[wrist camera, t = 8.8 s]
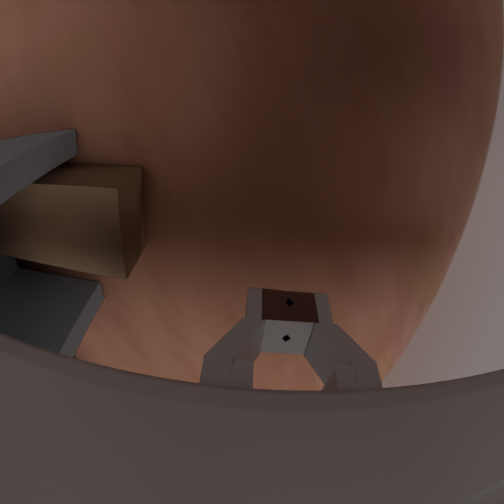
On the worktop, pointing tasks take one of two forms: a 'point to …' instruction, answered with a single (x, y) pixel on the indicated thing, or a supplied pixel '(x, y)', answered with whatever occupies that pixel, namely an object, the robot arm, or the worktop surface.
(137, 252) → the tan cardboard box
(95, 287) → the shelf
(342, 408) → the robot arm
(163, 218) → the worktop surface
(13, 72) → the worktop surface
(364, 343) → the worktop surface
